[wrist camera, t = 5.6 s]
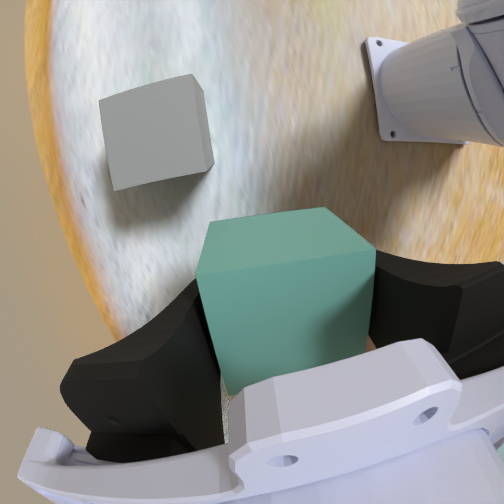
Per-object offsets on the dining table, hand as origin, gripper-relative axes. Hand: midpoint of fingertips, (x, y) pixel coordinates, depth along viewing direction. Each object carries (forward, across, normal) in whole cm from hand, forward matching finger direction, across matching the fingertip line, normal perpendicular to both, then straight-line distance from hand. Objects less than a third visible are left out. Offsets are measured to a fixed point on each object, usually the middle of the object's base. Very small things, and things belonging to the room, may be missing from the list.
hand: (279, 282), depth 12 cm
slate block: (+8, +4, -7) cm, 12 cm away
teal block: (+2, 0, 0) cm, 2 cm away
